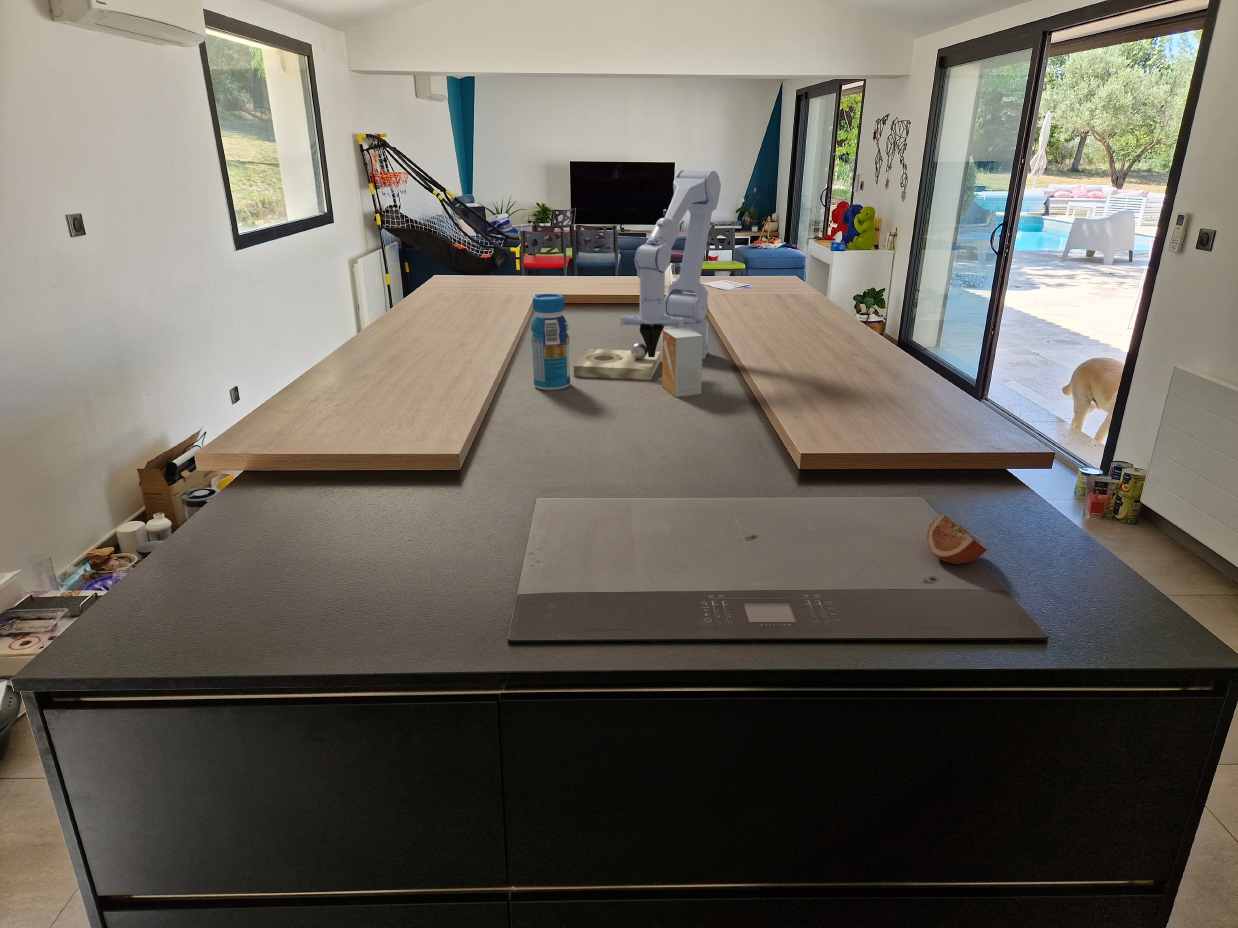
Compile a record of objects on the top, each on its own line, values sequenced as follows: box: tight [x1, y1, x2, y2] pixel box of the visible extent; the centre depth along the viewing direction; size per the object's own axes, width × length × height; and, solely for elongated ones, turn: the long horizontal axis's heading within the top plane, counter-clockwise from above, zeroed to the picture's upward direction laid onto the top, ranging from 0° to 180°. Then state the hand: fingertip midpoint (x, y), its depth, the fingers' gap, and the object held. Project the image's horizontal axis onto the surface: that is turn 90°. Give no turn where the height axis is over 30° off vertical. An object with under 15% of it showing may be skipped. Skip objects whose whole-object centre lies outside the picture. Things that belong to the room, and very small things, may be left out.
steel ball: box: [630, 342, 648, 360], centre depth 192 cm, size 4×4×4 cm
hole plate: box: [573, 348, 662, 381], centre depth 194 cm, size 18×16×2 cm
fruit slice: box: [926, 512, 988, 565], centre depth 107 cm, size 8×7×5 cm
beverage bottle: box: [530, 293, 571, 391], centre depth 178 cm, size 8×8×20 cm
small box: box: [661, 328, 703, 398], centre depth 175 cm, size 8×6×13 cm
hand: (651, 356), depth 192 cm, fingers closed
